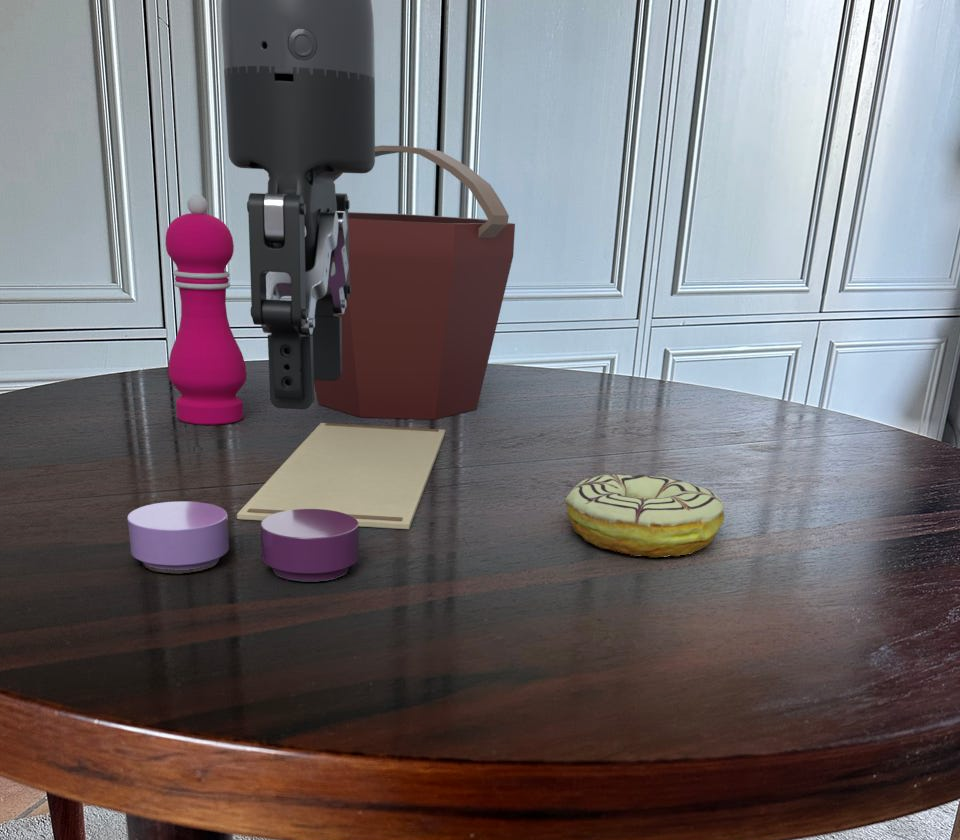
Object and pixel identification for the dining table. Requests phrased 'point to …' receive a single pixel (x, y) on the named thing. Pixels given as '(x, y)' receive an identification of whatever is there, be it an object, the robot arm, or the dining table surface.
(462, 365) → the bucket
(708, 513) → the decorated donut
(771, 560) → the dining table surface
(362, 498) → the placemat
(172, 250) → the pepper mill
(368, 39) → the robot arm
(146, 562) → the lilac dish
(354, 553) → the plum dish
